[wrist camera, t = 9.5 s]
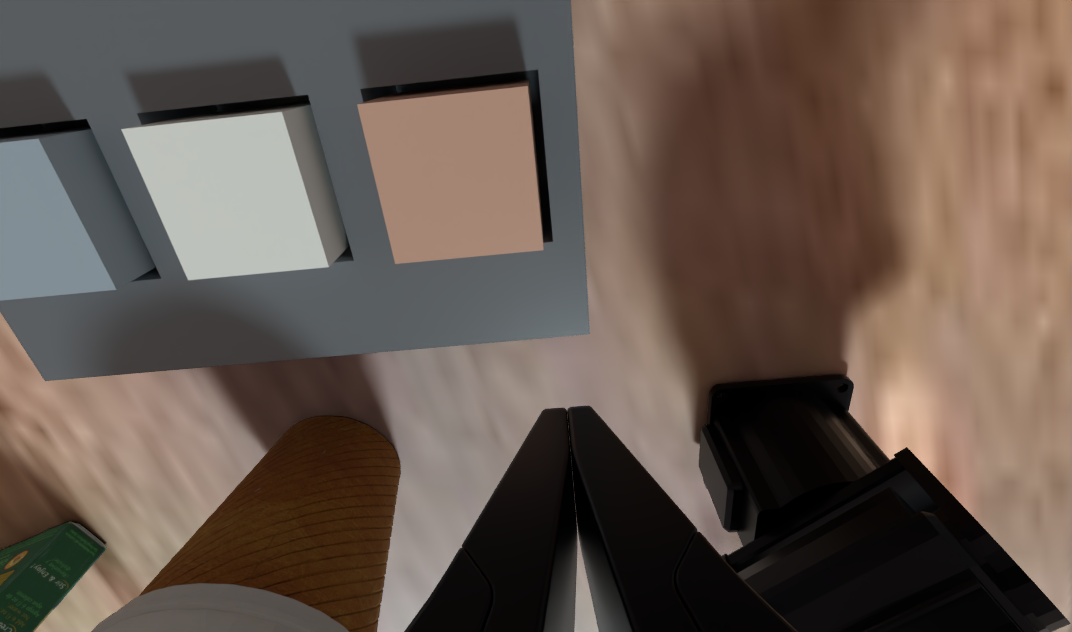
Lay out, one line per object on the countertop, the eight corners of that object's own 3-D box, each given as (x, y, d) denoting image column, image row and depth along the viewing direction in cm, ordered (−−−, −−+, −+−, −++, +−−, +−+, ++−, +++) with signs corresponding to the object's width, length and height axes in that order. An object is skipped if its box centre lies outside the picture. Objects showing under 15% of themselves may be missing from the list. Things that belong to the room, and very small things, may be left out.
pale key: (334, 98, 17) (281, 112, 14) (367, 226, 19) (328, 266, 16) (206, 112, 17) (121, 129, 14) (252, 237, 19) (188, 280, 16)
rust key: (529, 77, 17) (527, 85, 13) (541, 211, 19) (543, 250, 15) (394, 92, 17) (356, 104, 13) (421, 223, 19) (395, 263, 15)
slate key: (141, 119, 17) (38, 138, 14) (193, 245, 19) (116, 289, 16) (15, 133, 17) (-119, 155, 14) (80, 256, 19) (-21, 302, 16)
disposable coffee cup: (397, 372, 24) (288, 627, 14) (453, 513, 28) (405, 792, 18) (210, 406, 25) (-31, 670, 14) (292, 538, 29) (154, 817, 19)
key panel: (558, -59, 17) (565, -94, 13) (579, 282, 22) (589, 333, 18) (-33, 11, 17) (-201, 0, 13) (130, 323, 23) (45, 381, 19)
